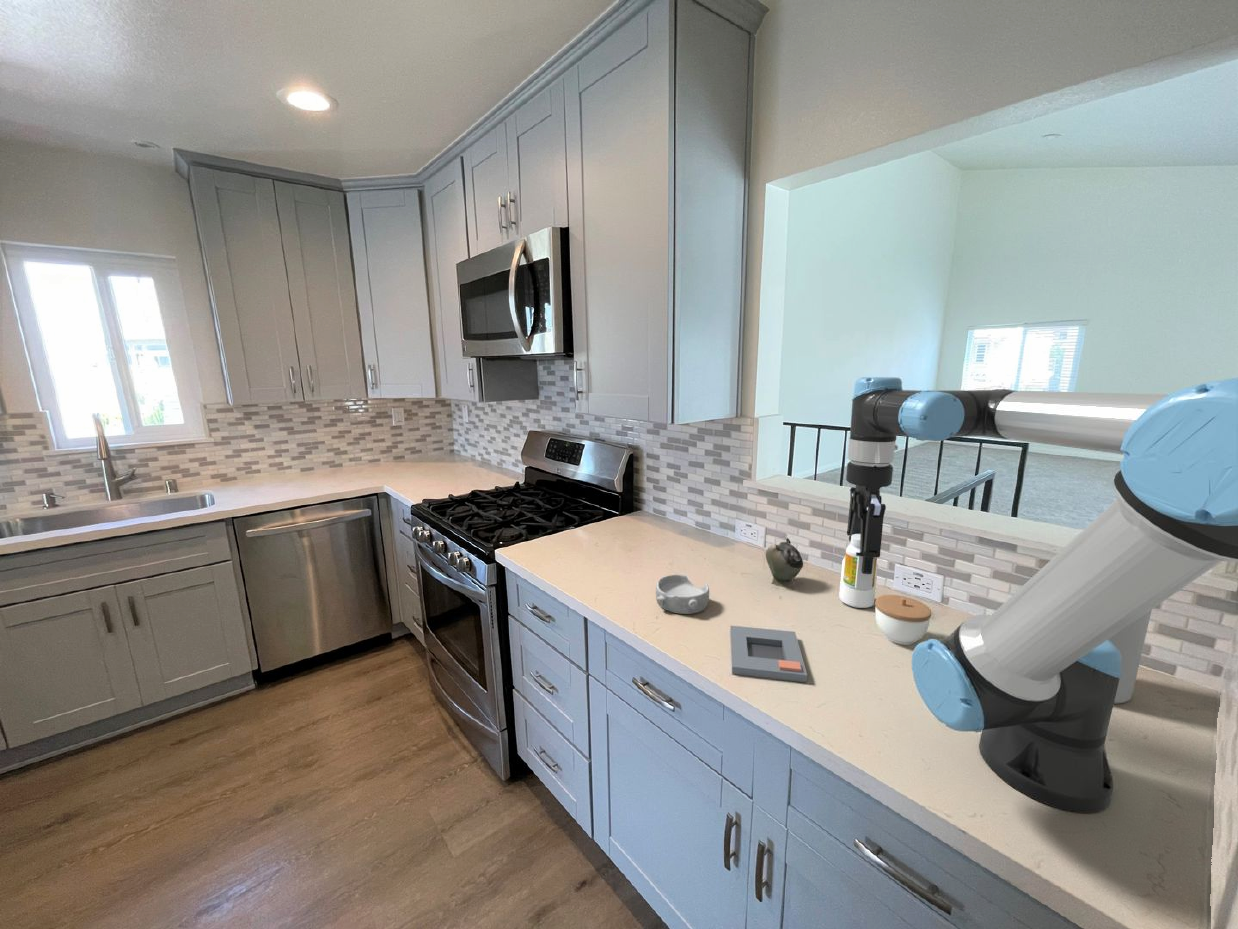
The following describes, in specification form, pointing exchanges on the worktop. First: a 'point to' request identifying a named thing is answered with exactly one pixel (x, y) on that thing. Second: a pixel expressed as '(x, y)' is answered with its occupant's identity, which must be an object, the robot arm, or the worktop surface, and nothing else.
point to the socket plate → (766, 654)
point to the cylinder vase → (1130, 655)
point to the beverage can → (856, 593)
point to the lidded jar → (902, 618)
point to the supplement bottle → (854, 563)
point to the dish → (681, 595)
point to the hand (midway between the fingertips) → (858, 581)
